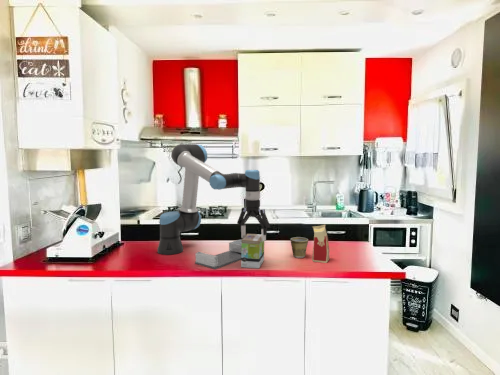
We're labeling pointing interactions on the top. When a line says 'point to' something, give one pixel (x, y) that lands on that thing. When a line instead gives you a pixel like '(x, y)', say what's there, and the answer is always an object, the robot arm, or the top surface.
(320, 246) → the paper coffee bag
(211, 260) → the vise
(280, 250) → the top surface
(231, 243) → the free jaw
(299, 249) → the ceramic cup
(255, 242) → the tea box
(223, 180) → the robot arm
